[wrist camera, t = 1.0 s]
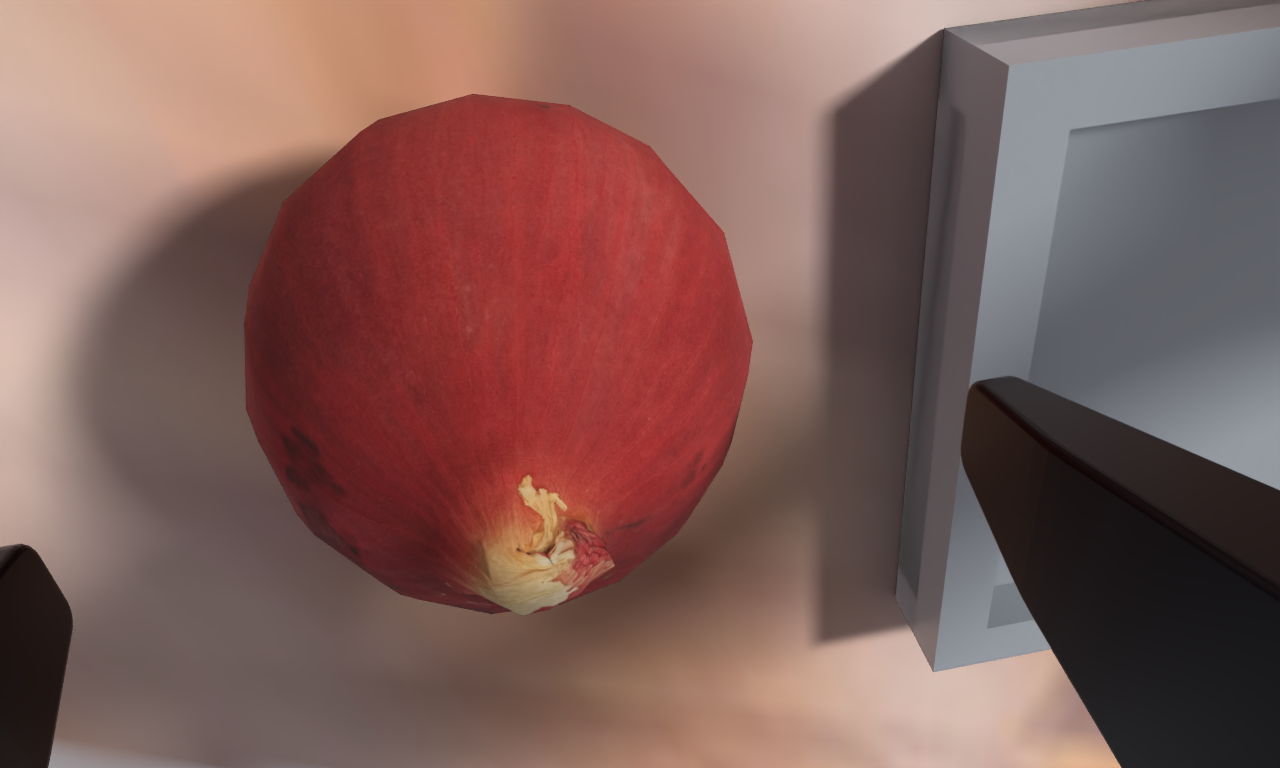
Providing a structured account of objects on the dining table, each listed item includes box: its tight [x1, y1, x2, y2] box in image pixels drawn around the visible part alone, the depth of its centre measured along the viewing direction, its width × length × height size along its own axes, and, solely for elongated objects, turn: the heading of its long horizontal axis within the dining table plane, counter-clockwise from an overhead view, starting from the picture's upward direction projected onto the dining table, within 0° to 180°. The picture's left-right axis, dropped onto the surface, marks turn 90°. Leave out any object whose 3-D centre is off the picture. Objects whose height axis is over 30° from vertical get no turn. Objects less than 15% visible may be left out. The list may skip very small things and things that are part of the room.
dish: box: [895, 0, 1280, 672], centre depth 17 cm, size 12×12×2 cm
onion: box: [244, 94, 753, 616], centre depth 11 cm, size 6×6×8 cm
